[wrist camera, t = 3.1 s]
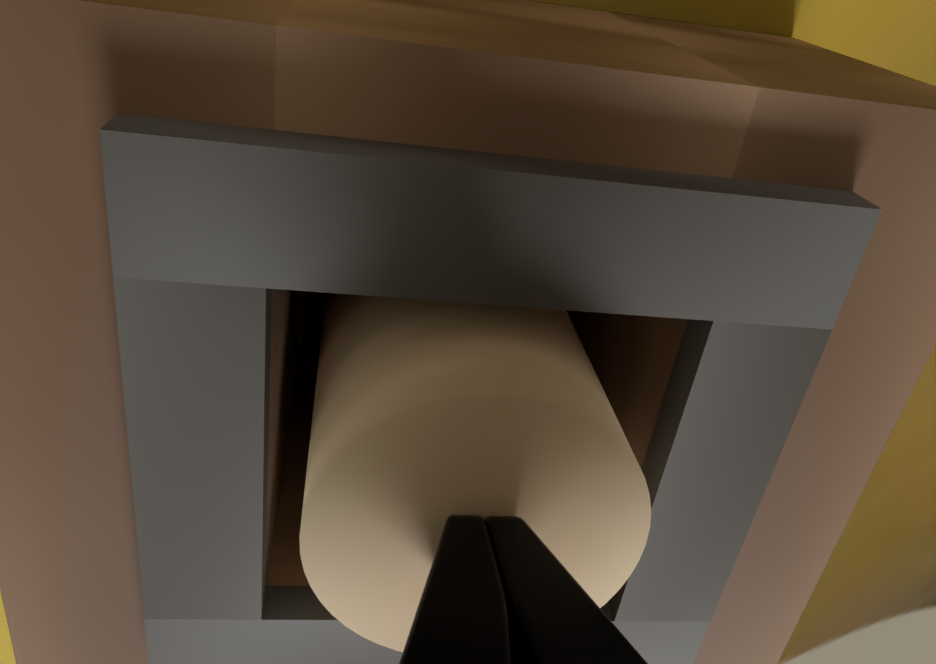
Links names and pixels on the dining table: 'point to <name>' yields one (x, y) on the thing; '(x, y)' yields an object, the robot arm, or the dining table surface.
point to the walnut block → (436, 293)
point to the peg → (457, 452)
